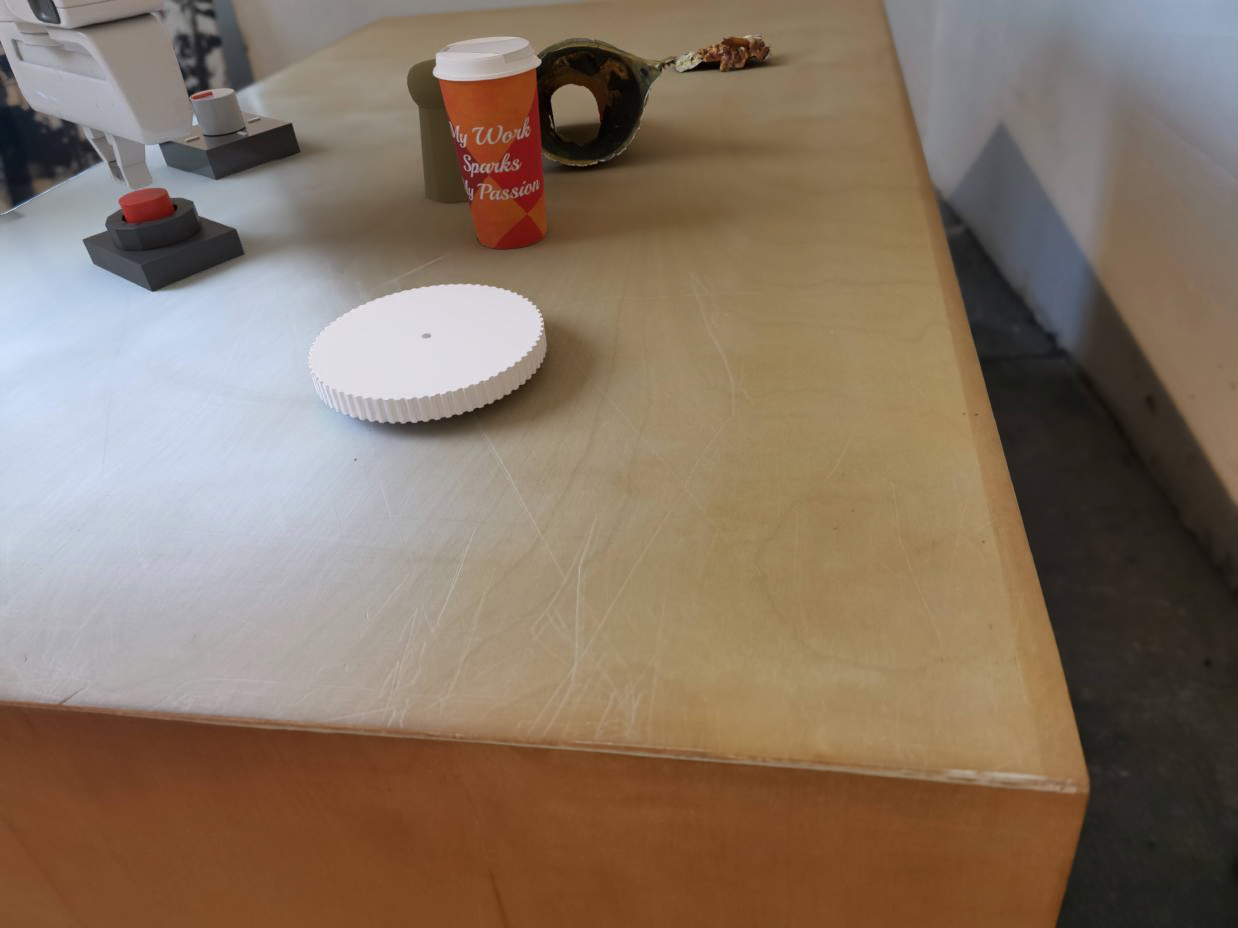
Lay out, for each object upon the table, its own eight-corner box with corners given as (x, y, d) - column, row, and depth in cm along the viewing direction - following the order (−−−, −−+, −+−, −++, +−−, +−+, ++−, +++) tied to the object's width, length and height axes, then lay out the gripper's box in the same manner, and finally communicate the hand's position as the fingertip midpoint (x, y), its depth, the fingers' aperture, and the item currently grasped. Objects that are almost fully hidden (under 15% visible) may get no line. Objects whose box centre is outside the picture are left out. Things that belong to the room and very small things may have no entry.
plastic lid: (591, 380, 51) (587, 342, 49) (365, 469, 45) (353, 430, 44) (488, 298, 61) (482, 265, 59) (291, 364, 55) (279, 329, 54)
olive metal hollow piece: (631, 20, 90) (651, -16, 73) (675, 125, 94) (703, 114, 77) (484, 96, 91) (470, 78, 74) (533, 196, 95) (531, 201, 78)
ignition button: (119, 220, 68) (109, 199, 67) (161, 205, 70) (153, 184, 69) (140, 229, 66) (131, 207, 65) (184, 213, 69) (175, 192, 68)
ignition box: (93, 264, 71) (71, 217, 69) (183, 231, 76) (165, 186, 73) (152, 292, 66) (130, 242, 63) (245, 254, 70) (228, 207, 68)
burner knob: (231, 121, 93) (218, 83, 90) (253, 126, 90) (241, 87, 88) (193, 132, 90) (179, 94, 88) (215, 138, 88) (202, 98, 85)
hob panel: (166, 165, 92) (154, 135, 90) (249, 139, 98) (240, 110, 96) (216, 180, 86) (204, 148, 84) (300, 151, 92) (291, 121, 90)
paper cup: (452, 254, 67) (413, 62, 59) (480, 217, 73) (449, 37, 65) (549, 255, 66) (523, 57, 57) (570, 216, 72) (549, 32, 63)
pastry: (669, 64, 111) (668, 34, 109) (760, 54, 112) (761, 23, 110) (680, 77, 106) (679, 45, 104) (776, 66, 107) (777, 34, 104)
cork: (465, 174, 82) (443, 50, 76) (504, 187, 79) (484, 57, 72) (412, 193, 79) (384, 65, 72) (450, 207, 76) (424, 74, 69)
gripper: (-55, -17, 62) (36, 174, 70) (69, -1, 51) (159, 223, 60) (36, -31, 66) (111, 152, 74) (169, -19, 55) (240, 194, 63)
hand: (134, 184), depth 67 cm, fingers closed
